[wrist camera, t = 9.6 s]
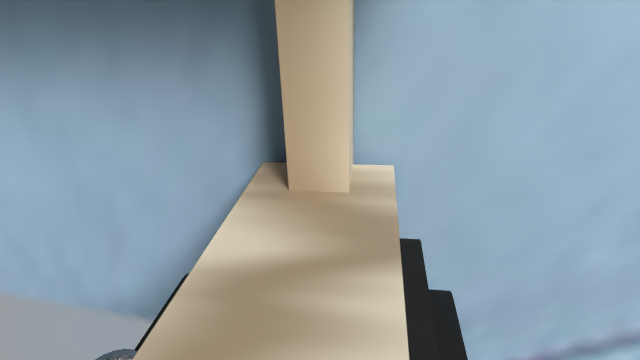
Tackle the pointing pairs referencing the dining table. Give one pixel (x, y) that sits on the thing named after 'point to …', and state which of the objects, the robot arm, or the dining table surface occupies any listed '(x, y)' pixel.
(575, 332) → the dining table surface
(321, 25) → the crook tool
